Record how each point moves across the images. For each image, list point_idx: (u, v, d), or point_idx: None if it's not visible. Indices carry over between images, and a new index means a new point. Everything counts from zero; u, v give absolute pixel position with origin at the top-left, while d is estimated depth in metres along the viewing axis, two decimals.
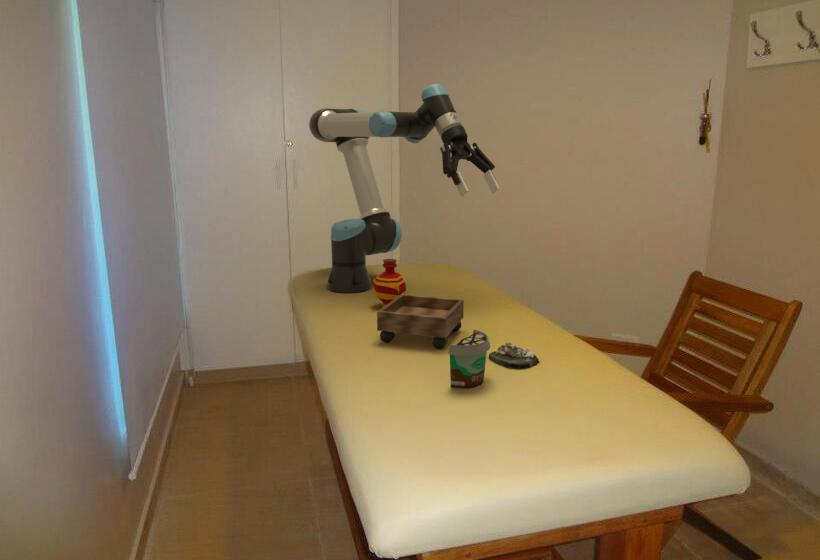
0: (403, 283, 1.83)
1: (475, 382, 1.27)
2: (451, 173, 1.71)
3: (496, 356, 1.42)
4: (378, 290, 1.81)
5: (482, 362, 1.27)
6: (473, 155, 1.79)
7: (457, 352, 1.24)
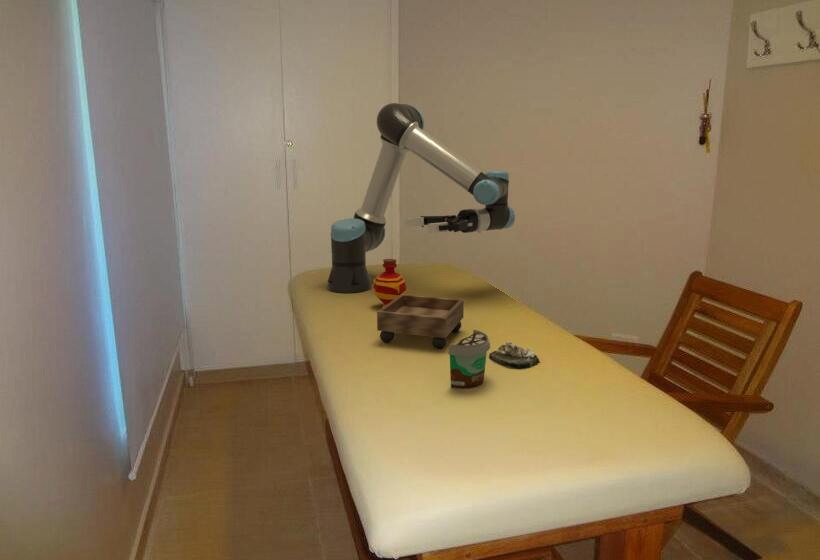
0: (403, 283, 1.83)
1: (475, 382, 1.27)
2: (450, 228, 1.81)
3: (496, 356, 1.42)
4: (378, 290, 1.81)
5: (482, 362, 1.27)
6: None
7: (457, 352, 1.24)
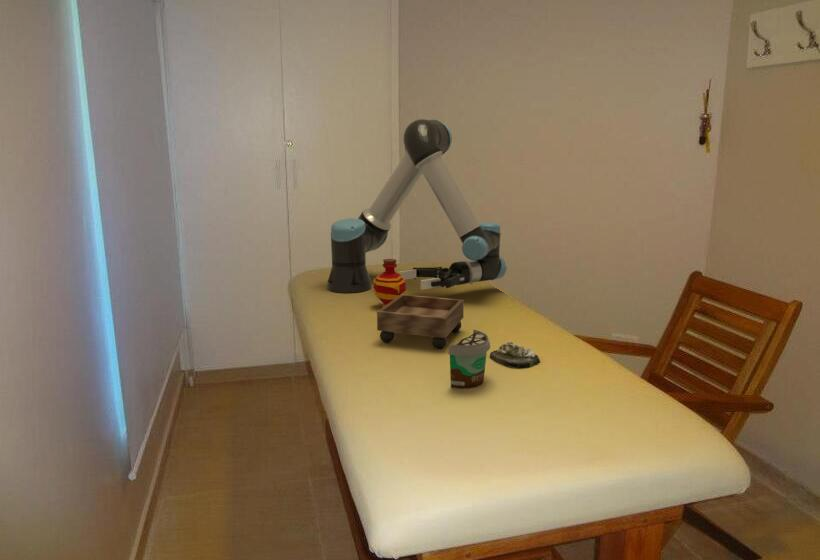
0: (403, 283, 1.83)
1: (475, 382, 1.27)
2: (442, 284, 1.83)
3: (497, 355, 1.43)
4: (378, 290, 1.81)
5: (482, 362, 1.27)
6: (435, 277, 1.96)
7: (457, 352, 1.24)
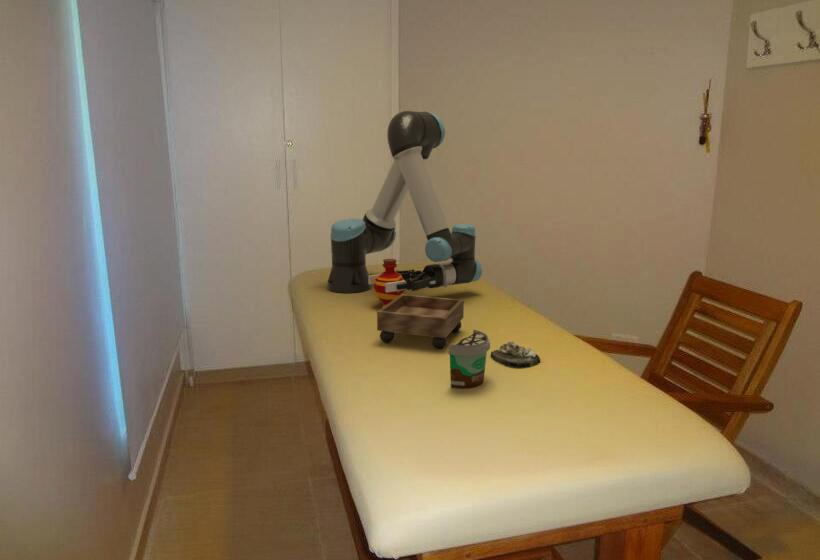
0: None
1: (475, 382, 1.27)
2: (408, 287, 1.79)
3: (497, 354, 1.43)
4: (378, 290, 1.81)
5: (482, 362, 1.27)
6: None
7: (457, 352, 1.24)
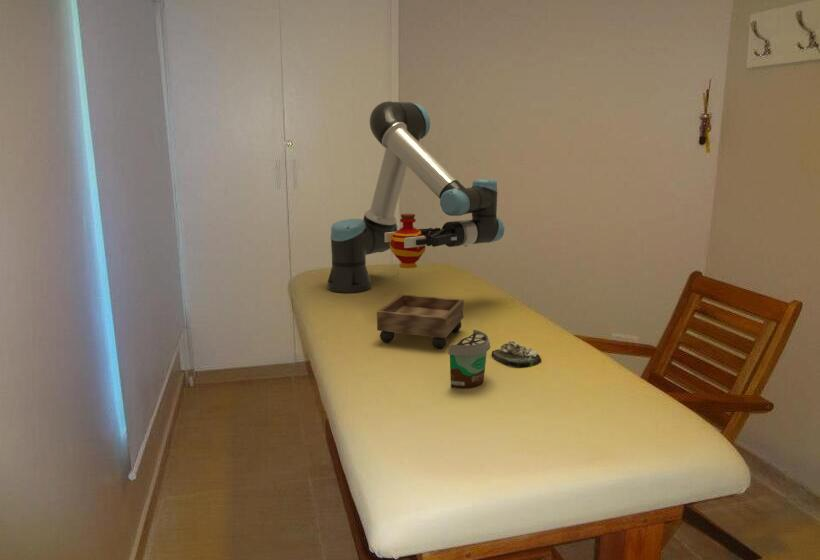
0: None
1: (475, 382, 1.27)
2: (428, 242, 1.67)
3: (498, 354, 1.44)
4: (396, 246, 1.68)
5: (482, 362, 1.27)
6: (427, 239, 1.78)
7: (457, 352, 1.24)
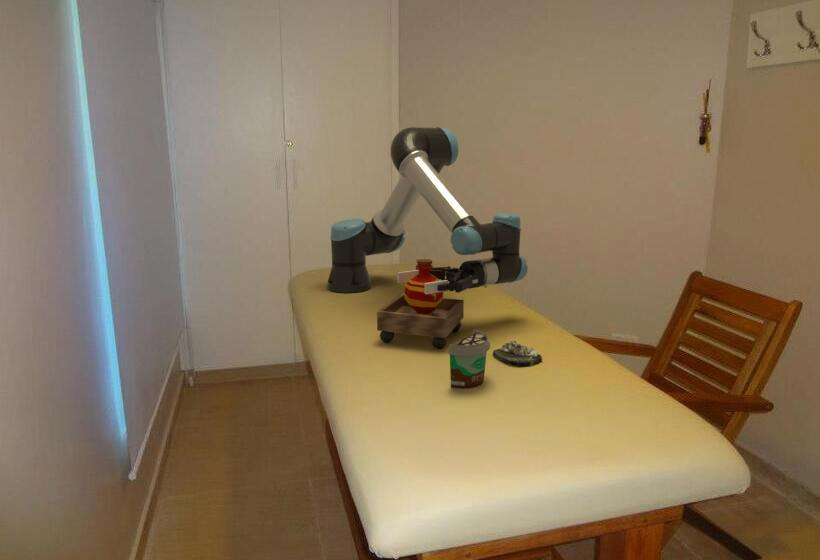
0: None
1: (475, 382, 1.27)
2: (451, 287, 1.50)
3: (499, 353, 1.44)
4: (411, 296, 1.53)
5: (482, 362, 1.27)
6: (443, 279, 1.63)
7: (457, 352, 1.24)
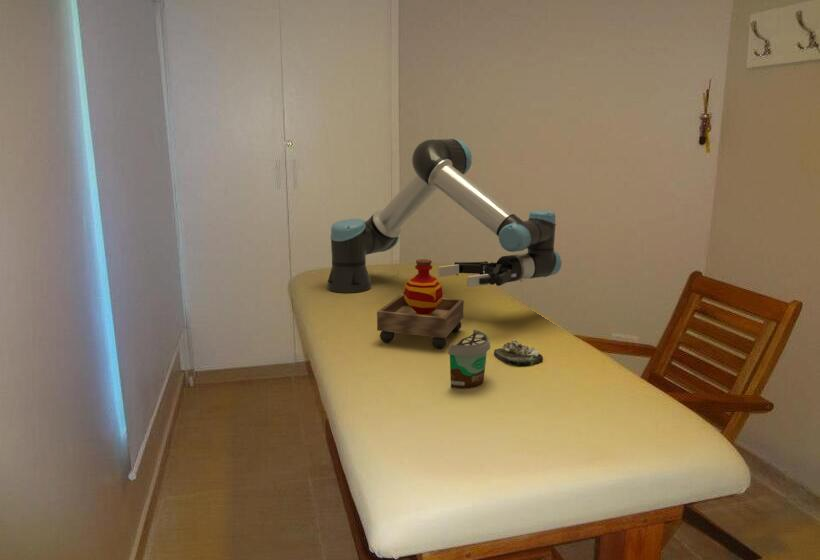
0: (439, 288, 1.54)
1: (475, 382, 1.27)
2: (492, 281, 1.57)
3: (500, 352, 1.44)
4: (410, 297, 1.53)
5: (482, 362, 1.27)
6: (481, 273, 1.69)
7: (457, 352, 1.24)
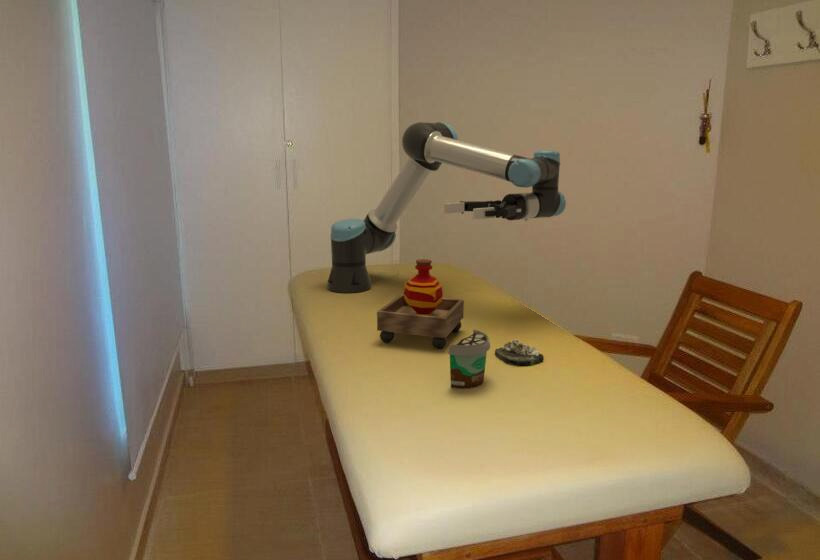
0: (439, 288, 1.54)
1: (475, 382, 1.27)
2: (498, 213, 1.58)
3: (500, 352, 1.45)
4: (410, 297, 1.53)
5: (482, 362, 1.27)
6: None
7: (457, 352, 1.24)
